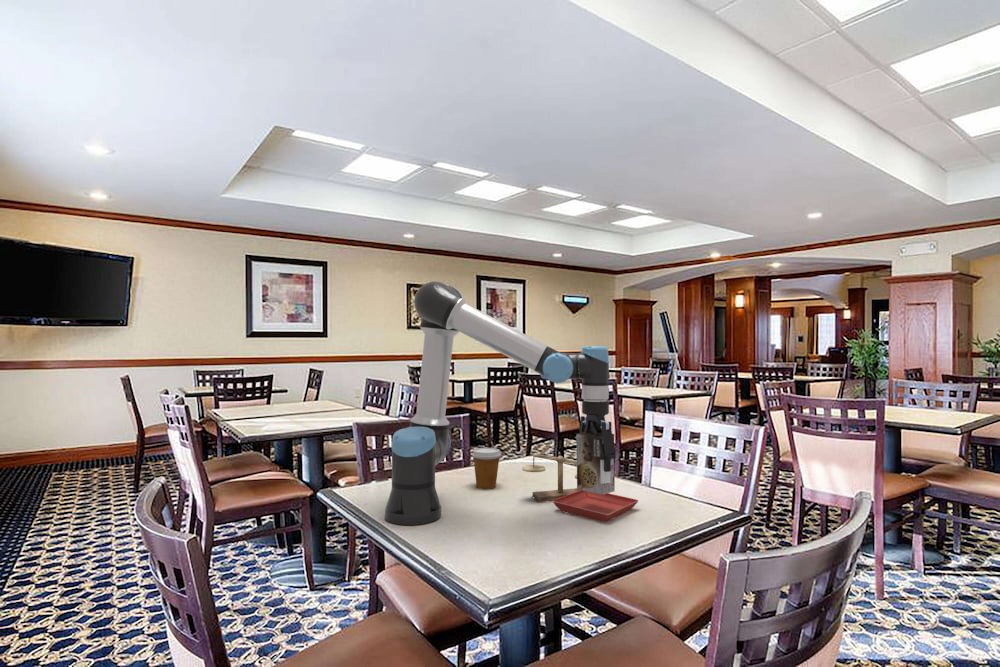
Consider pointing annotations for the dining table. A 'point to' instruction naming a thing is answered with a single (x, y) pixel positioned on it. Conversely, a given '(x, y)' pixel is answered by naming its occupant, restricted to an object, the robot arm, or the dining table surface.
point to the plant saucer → (595, 505)
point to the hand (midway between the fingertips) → (595, 478)
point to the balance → (555, 494)
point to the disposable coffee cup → (486, 467)
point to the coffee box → (591, 465)
